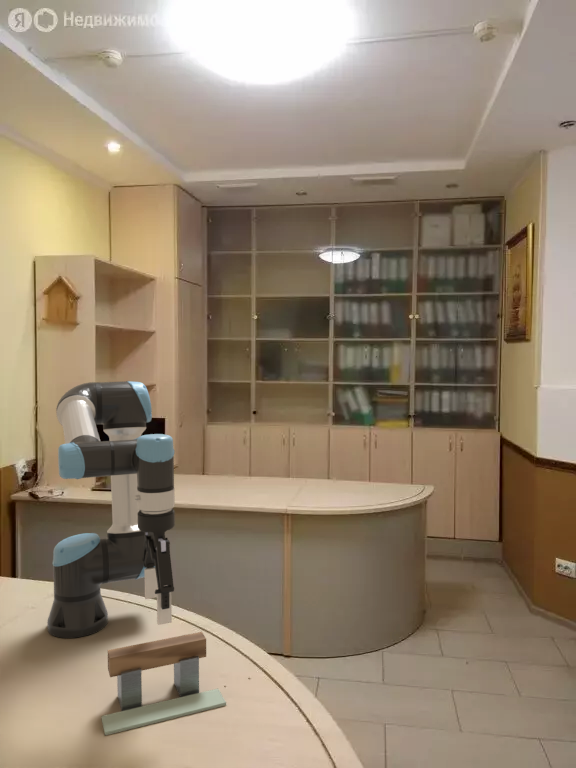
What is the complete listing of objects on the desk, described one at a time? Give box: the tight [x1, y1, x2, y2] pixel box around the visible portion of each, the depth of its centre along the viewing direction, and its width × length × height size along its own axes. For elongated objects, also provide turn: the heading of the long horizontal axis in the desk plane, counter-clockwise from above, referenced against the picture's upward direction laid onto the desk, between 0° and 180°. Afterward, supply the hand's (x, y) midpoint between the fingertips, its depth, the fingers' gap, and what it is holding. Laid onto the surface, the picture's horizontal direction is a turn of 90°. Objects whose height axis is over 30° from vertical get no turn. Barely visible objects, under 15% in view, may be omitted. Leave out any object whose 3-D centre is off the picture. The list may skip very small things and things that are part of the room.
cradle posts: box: [116, 656, 200, 712], centre depth 126 cm, size 6×16×8 cm, turn 114°
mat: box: [101, 688, 227, 736], centre depth 120 cm, size 6×24×1 cm, turn 114°
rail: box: [107, 631, 207, 678], centre depth 126 cm, size 4×20×4 cm, turn 114°
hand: (157, 609), depth 125 cm, fingers open, 13 cm apart
